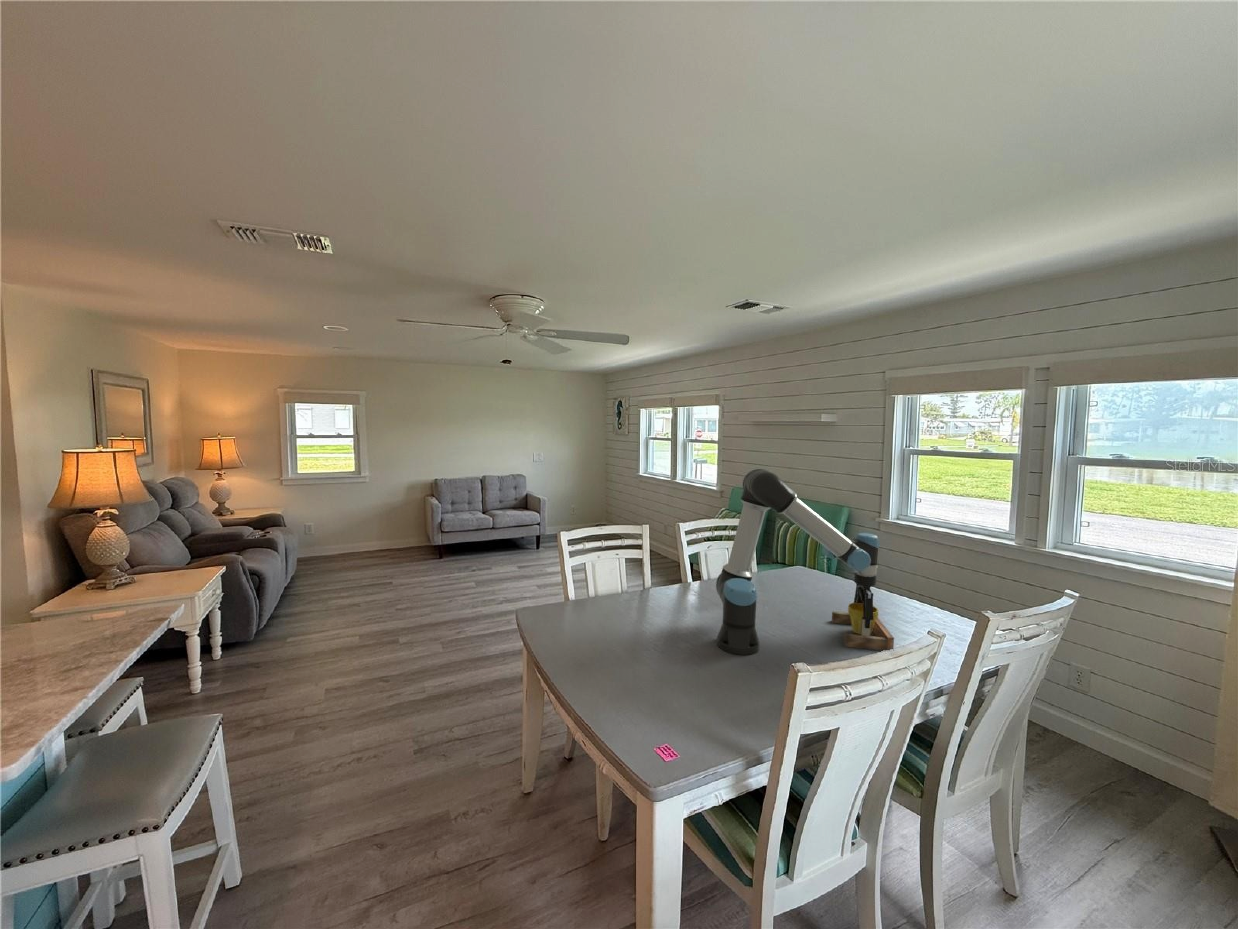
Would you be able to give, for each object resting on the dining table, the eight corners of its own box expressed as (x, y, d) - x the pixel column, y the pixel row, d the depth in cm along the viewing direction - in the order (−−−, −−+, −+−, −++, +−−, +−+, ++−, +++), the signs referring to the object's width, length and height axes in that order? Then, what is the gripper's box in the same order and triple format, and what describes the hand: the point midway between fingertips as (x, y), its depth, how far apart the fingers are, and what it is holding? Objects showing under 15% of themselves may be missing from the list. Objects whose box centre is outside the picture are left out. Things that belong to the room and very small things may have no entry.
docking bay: (845, 646, 181) (846, 633, 181) (831, 620, 205) (832, 609, 204) (893, 651, 178) (894, 638, 178) (873, 624, 201) (874, 612, 201)
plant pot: (858, 638, 185) (860, 613, 184) (841, 627, 195) (842, 603, 194) (882, 636, 187) (884, 611, 186) (864, 625, 197) (866, 601, 196)
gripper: (885, 584, 177) (881, 643, 179) (867, 566, 199) (864, 619, 201) (863, 582, 179) (859, 641, 181) (847, 564, 201) (844, 617, 203)
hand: (861, 629), depth 191 cm, fingers closed on plant pot, 10 cm apart
